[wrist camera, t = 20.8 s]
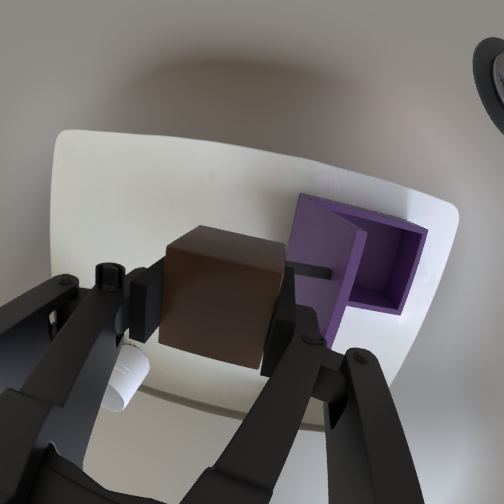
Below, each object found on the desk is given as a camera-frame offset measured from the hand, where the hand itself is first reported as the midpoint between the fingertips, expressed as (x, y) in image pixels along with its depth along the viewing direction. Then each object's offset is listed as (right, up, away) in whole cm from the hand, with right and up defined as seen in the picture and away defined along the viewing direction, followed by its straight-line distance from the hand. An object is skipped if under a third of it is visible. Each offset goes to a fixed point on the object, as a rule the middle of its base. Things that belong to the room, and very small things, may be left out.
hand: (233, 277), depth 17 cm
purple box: (+15, +2, +27) cm, 31 cm away
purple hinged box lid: (+7, -1, +11) cm, 13 cm away
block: (0, 0, 0) cm, 0 cm away
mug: (-25, -20, +38) cm, 49 cm away
